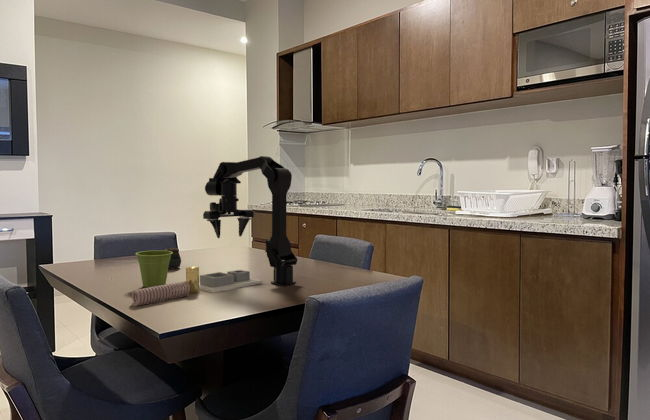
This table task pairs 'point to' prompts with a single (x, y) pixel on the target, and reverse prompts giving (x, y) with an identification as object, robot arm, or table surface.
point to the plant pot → (154, 267)
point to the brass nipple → (192, 279)
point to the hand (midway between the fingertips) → (229, 237)
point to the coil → (159, 293)
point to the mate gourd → (174, 258)
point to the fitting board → (226, 281)
